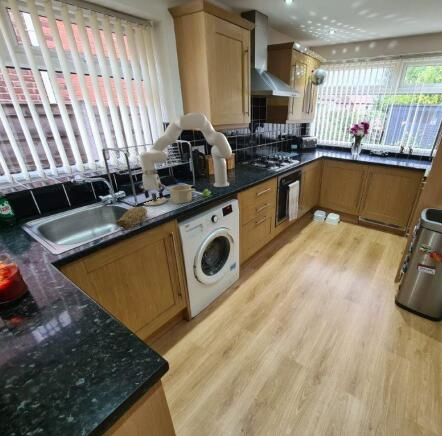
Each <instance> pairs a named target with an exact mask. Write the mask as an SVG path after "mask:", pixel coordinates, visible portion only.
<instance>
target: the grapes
mask: <svg viewBox="0 0 442 436" xmlns="http://www.w3.org/2000/svg"><path fill="white" fill-rule="evenodd" d="M211 194H212V191H210V190H209V189H208V188H205V189H204V190H203V192H202V193H201V197H203V198H205V197H206V198H209V196H210V195H211Z"/></svg>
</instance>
